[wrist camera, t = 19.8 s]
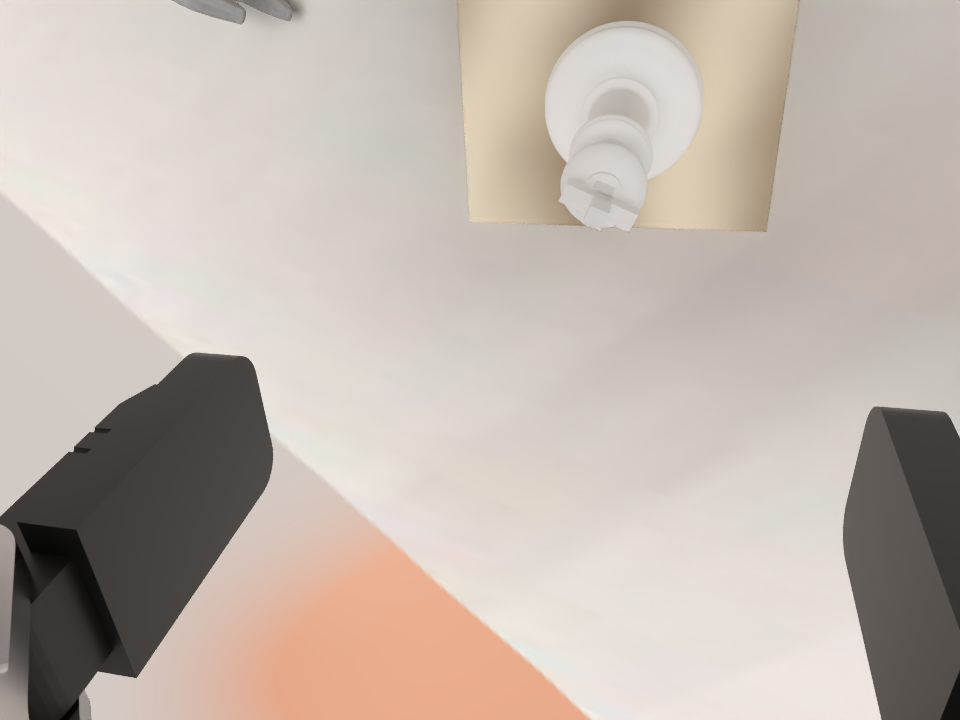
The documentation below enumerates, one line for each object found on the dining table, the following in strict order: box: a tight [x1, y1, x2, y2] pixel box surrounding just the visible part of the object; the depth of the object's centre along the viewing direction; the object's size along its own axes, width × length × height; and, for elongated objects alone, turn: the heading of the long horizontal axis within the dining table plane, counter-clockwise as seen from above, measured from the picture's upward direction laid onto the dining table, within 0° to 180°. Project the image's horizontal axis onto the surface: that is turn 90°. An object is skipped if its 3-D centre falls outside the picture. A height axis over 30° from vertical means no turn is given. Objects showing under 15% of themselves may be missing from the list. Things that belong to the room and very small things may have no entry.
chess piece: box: [545, 21, 704, 232], centre depth 21 cm, size 5×5×10 cm
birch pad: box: [457, 0, 799, 232], centre depth 26 cm, size 10×8×1 cm
